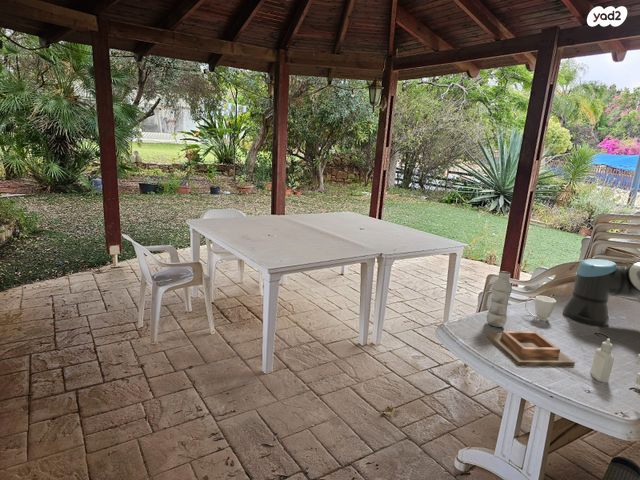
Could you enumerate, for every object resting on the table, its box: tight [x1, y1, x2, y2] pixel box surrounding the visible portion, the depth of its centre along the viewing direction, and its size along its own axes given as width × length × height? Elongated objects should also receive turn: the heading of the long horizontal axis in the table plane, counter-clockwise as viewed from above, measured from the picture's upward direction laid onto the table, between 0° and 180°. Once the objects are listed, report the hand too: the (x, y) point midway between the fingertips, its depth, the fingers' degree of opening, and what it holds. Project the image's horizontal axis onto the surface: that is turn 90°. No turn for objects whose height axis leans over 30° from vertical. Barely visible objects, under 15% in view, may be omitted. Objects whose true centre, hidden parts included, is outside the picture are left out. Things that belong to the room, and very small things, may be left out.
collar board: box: [486, 330, 576, 367], centre depth 127 cm, size 18×18×4 cm
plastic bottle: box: [486, 270, 513, 328], centre depth 143 cm, size 6×7×20 cm
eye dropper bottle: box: [590, 338, 615, 383], centre depth 113 cm, size 4×6×12 cm
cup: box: [524, 295, 557, 322], centre depth 154 cm, size 7×10×8 cm
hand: (636, 367), depth 109 cm, fingers open, 13 cm apart
